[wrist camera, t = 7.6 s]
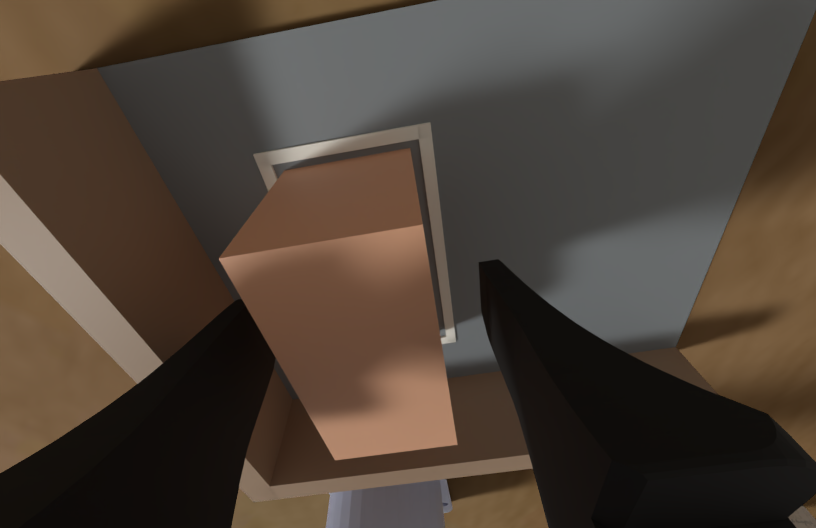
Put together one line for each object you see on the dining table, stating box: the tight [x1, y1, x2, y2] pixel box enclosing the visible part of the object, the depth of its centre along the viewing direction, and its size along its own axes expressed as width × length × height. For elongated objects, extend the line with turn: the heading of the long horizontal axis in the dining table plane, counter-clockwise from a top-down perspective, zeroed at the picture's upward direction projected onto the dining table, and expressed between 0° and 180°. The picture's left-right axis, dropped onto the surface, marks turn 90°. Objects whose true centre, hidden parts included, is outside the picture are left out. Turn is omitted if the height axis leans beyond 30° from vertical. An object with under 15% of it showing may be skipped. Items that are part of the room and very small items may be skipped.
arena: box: [0, 0, 816, 502], centre depth 12 cm, size 16×20×4 cm
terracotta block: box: [219, 148, 458, 460], centre depth 11 cm, size 8×4×5 cm, turn 9°
